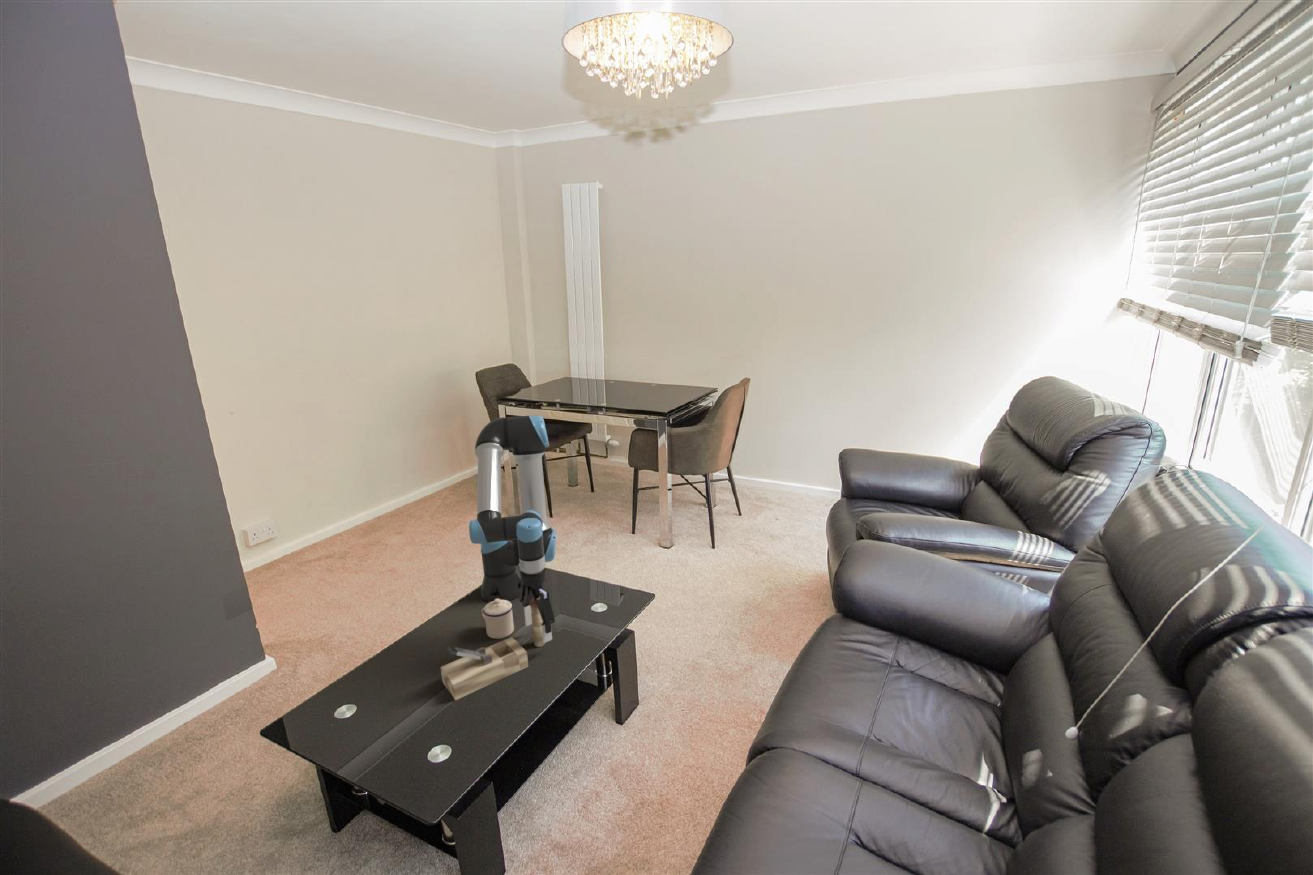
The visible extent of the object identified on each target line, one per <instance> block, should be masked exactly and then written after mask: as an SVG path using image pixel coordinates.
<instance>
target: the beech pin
mask: <svg viewBox="0 0 1313 875" xmlns="http://www.w3.org/2000/svg"><path fill="white" fill-rule="evenodd" d="M538 599H540V598H538ZM538 599H537V600H538ZM529 605H530V607H531V616H532V624H531V625H532V636H533V646H534V647H535V648H541V647H543V646H545V644H546V643H544V642H543V633H542V625H541V624H542V623H543V621H542V618H541V615H540V612H539V609H538V606H537V604H536V603H535V602H534V599H531V600H530V601H529Z"/></svg>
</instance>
